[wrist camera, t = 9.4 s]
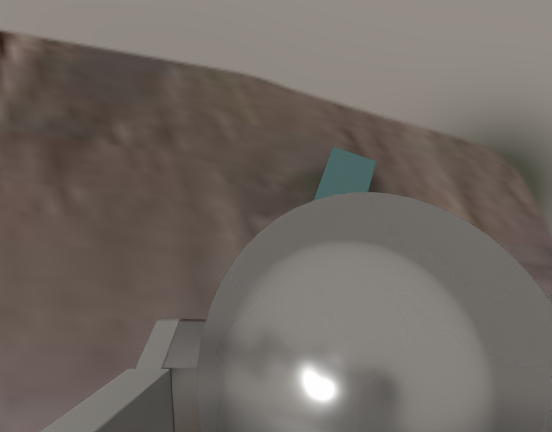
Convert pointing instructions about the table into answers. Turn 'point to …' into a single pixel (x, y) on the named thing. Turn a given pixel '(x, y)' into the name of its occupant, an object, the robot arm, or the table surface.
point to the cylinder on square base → (375, 327)
